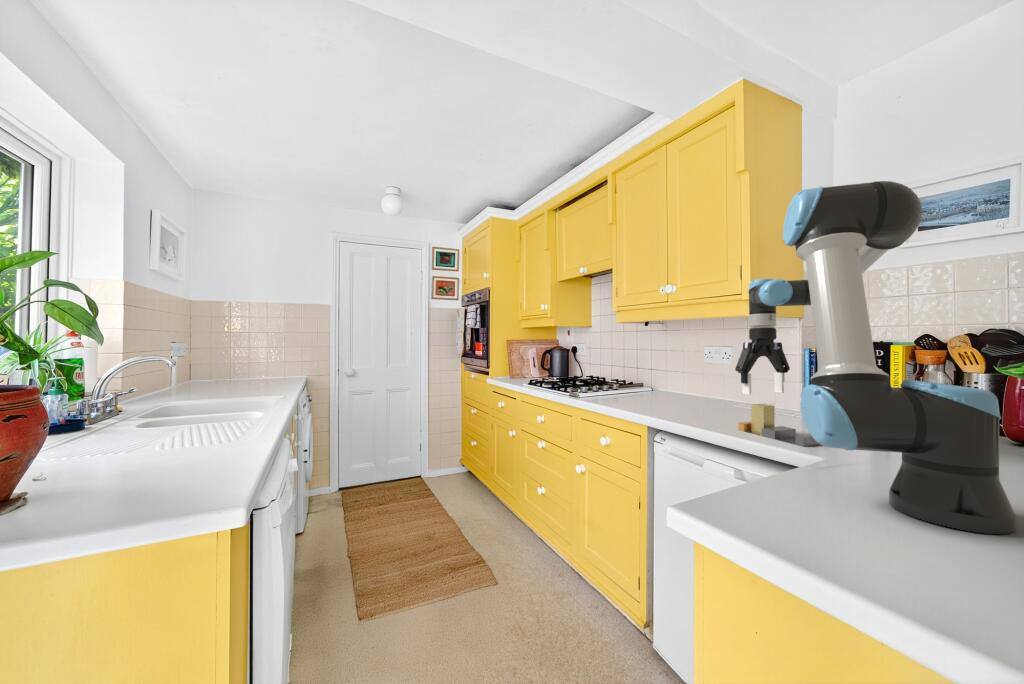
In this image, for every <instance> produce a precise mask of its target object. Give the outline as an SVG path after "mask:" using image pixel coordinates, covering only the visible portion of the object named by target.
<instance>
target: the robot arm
mask: <svg viewBox="0 0 1024 684" xmlns="http://www.w3.org/2000/svg"><path fill="white" fill-rule="evenodd" d="M922 216H923V206H922V202H921V200H920V198H919V196H918V194H917V193H915V192H914V190H912V189H911V188H910V187H908V186H907V185H904V184H902V183H899V182H896V181H891V180H890V181H889V180H888V181H887V180H880V181H879V180H878V181H877V180H876V181H872V182H862V183H852V184H851V183H850V184H844V185H835V186H826V187H825V186H821V185H820V186H818V187H814V188H813V187H812V188H807V189H802V190H800V191H797V193H796V194H795V195H794V196H793V197H792V199H791V200H790V203H789V204H788V207H787V210H786V214H785V217H784V222H783V227H782V241H783V242H784V245H785V246H788V247H795V253H796V257H797V258H799V259H800V260H802V261H804V262H805V265H806V266H805V267H806V273H807V279H799V280H798V279H796V280H795V279H794V280H793V279H791V280H785V279H782V278H781V279H779V278H777V279H774V278H760V279H759V278H758V279H753V280H751V281H750V282H749V284H748V291H747V293H748V316H749V317H748V326H749V327H750V328H749V329H748V334H749V335H748V336H749V337H748V338H749V340H751V342H750V341H749V342H747V341H745V342H743V343H742V350H741V353H740V356H739V358H738V360H737V364H736V366H735V369H734V370H735V372H737V373H739V374H740V382H741V387H742V388H741V392H742V394H743V395H752V373H750V372H751V370H752V368H753V366H754V365H755V364H756V362H757V361H758V359H759V358H761V357H765V358H767V360H768V361H769V362H770V364H771V365H772V367H773V369H774V370H775V371H774V373H773V375H774V376H773V377H774V378H773V379H774V380H773V382H774V383H773V385H774V388H773V389H774V393H779V394H783V393H785V390H784V389H785V384H784V383H785V373H786V374H788V372H789V371H790V370H791V368H790V365H789V363H788V359H787V357H786V355H785V352H784V350H783V349H784V348H783V343H782V342H777V341H776V342H775V341H774V340H776V339H777V328H776V326H777V307H795V306H798V307H799V306H811V315H812V316H811V317H812V323H813V331H814V332H813V333H814V341H815V347H816V348H815V349H816V356H817V358H816V359H817V366H818V370H816V372H815V373H814V374H813V375H812V376H810V384H808V385H807V386H805V387H803V389H802V391H801V393H800V398H801V400H800V401H799V402H800V411H801V415H802V419H803V422H804V425H805V427H806V429H807V431H808V432H809V435H811V436H812V437H813V438H814V439H815V440H816V441H817V442H818V443H819V444H821V445H820V446H824V447H827V448H831V449H842V450H845V451H855V450H856V451H870V452H886V453H887V452H888V453H901V464H900V466H899V469H898V471H897V473H896V475H895V477H894V479H893V481H892V483H891V486H890V488H889V489H888V490H889V491H888V503H889V505H890V506H891V507H892V508H894V510H897V511H899V513H902V514H905V515H907V516H909V515H910V516H909V517H912V518H915V519H917V518H918V520H920V519H921V520H920V521H923V520H924V522H927V521H928V522H927V523H930V522H931V523H930V524H934V523H935V524H934V525H937V524H939V525H938V526H941V525H943V526H942V527H945V526H947V527H946V528H950V527H951V528H950V529H954V528H956V529H955V530H959V529H960V530H961V531H965V530H966V532H971V531H972V532H973V533H980V534H991V535H995V534H996V535H1005V534H1011V533H1014V532H1015V531H1016V530H1017V517H1016V513H1015V510H1014V507H1013V506H1012V504H1011V502H1010V500H1009V497H1008V495H1007V493H1006V491H1005V490H1004V487H1003V485H1002V482H1001V480H1000V420H1001V419H1002V416H1001V412H1000V404H999V399H998V397H997V395H996V394H995V393H993V392H992V391H990V390H988V389H982V388H976V387H968V386H962V385H953V384H948V383H947V384H945V383H940V382H930V381H924V380H916V379H915V380H914V379H903V380H902V381H901V383H900V385H899V386H900V387H894V386H893V387H892V386H891V379H890V375H889V374H888V373H887V372H885V371H884V370H882V369H880V368H879V367H878V366H877V363H876V361H877V360H876V355H875V350H874V344H873V343H874V342H873V337H872V329H871V325H870V324H871V323H870V318H869V312H868V304H867V296H866V291H865V285H864V280H863V279H864V277H863V274H864V273H865V272H866V271H867V270H868V269H869V268H870V267H871V266H872V265H874V264H875V263H876V262H877V261H878V260H879V259H880V258H881V257H882V256H883V255H884V254H886V253H887V251H889V250H893V249H897V248H899V247H900V246H902V245H903V244H904V243H905V242H906V241H908V240H909V239H910V238H911V237H912V236H913V235H914V233H915V232H916V231H917V229H918V228H919V226H920V223H921V221H922Z"/></svg>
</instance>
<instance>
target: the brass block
mask: <svg viewBox="0 0 1024 684" xmlns="http://www.w3.org/2000/svg"><path fill="white" fill-rule="evenodd" d="M750 405H751V406H750V407H751V409H750V410H751V416H750V417H751V418H750V419H751V421H750V422H751V432H754V433H758V434H762V428H768V427H775V405H772V404H768V403H767V404H766V403H751V404H750Z"/></svg>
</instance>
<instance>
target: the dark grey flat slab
mask: <svg viewBox="0 0 1024 684" xmlns="http://www.w3.org/2000/svg"><path fill="white" fill-rule="evenodd" d="M737 426H738V428H737V430H738V431H740V432H744V433H748V434H752V435H756V436H760V437H763V438H767V439H771V440H775V441H778V442H783V443H787V444H792V445H795V446H798V447H802V448H803V447H804V448H807V447H815V446H822V445H821V444H819V443H818V442H817V441H816V440H815V439H814V438H813V437H812V436H811V434H804V435H796V434H797V431H796V430H797V429H796V428H792V427H787V426H783V425H779V426H774V427H768V428H762V434H758V433H754V432H751V421H741V422H738V425H737Z"/></svg>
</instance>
